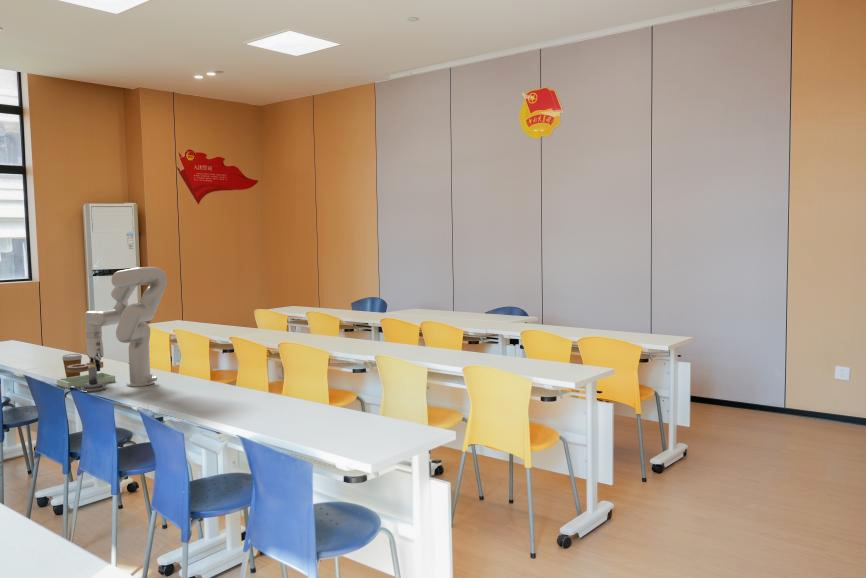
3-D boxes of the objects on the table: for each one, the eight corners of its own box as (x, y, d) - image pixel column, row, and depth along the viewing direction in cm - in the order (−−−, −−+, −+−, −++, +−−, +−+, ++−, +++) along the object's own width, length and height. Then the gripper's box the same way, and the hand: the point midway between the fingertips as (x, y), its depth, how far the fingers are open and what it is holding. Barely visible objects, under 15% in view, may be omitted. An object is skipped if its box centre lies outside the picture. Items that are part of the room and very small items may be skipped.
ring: (71, 373, 340) (71, 367, 339) (64, 370, 346) (63, 364, 346) (106, 368, 352) (105, 362, 352) (98, 365, 358) (97, 360, 358)
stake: (110, 389, 334) (108, 364, 333) (86, 393, 326) (84, 368, 325) (100, 386, 342) (99, 362, 341) (77, 390, 334) (75, 365, 333)
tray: (103, 378, 363) (103, 372, 362) (115, 381, 353) (115, 375, 353) (57, 385, 346) (56, 379, 346) (68, 389, 336) (68, 383, 336)
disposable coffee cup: (87, 375, 370) (85, 353, 369) (76, 379, 360) (74, 356, 359) (70, 375, 371) (69, 353, 370) (59, 379, 361) (57, 356, 360)
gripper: (108, 335, 348) (109, 371, 350) (94, 332, 359) (96, 367, 361) (92, 337, 343) (94, 374, 344) (79, 334, 354) (81, 369, 355)
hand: (95, 370), depth 353 cm, fingers closed on ring, 3 cm apart
